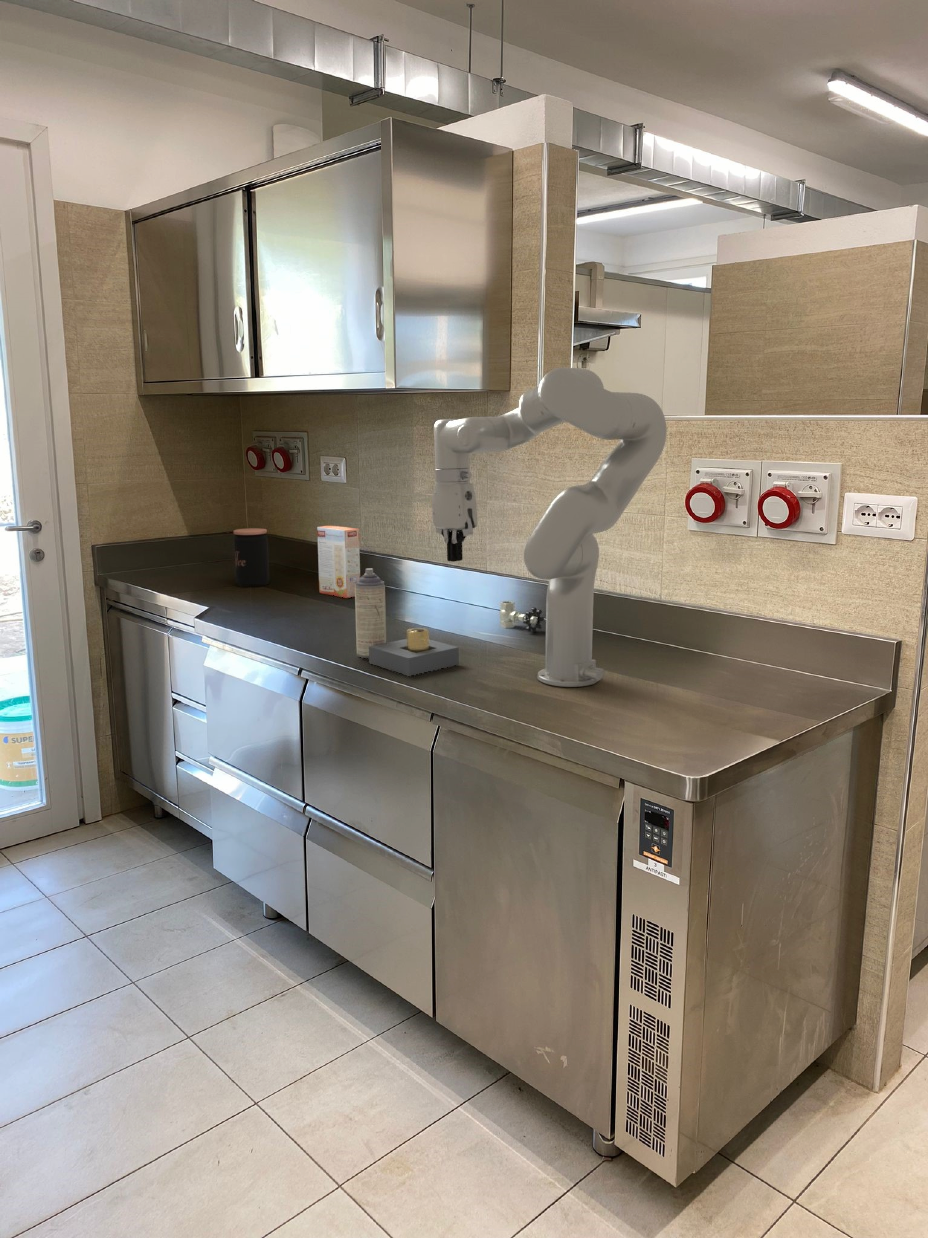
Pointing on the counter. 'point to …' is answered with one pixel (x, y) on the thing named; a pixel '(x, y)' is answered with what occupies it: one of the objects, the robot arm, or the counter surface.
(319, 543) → the cracker box
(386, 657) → the block
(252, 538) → the coffee jar
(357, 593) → the aerosol can
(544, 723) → the counter surface
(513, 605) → the valve
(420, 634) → the brass bushing
